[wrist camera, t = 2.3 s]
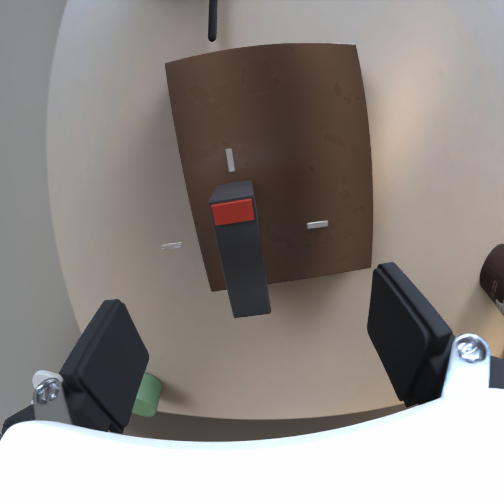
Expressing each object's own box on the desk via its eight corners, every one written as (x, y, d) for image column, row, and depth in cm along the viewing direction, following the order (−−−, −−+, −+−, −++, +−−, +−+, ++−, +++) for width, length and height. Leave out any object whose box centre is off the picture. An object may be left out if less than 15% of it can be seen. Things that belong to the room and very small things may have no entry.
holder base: (190, 291, 23) (183, 313, 20) (142, 82, 16) (125, 75, 13) (357, 267, 22) (370, 286, 20) (341, 54, 15) (356, 43, 12)
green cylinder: (139, 391, 30) (132, 415, 26) (126, 371, 28) (116, 396, 24) (167, 392, 30) (161, 417, 26) (155, 372, 28) (147, 398, 24)
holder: (266, 278, 19) (271, 316, 15) (235, 283, 19) (233, 321, 15) (252, 179, 16) (254, 195, 12) (216, 185, 16) (207, 202, 13)
